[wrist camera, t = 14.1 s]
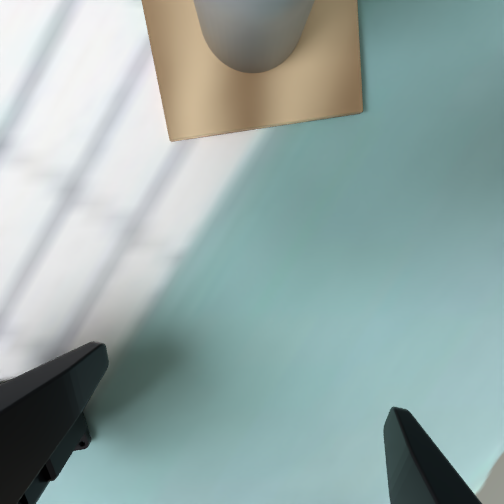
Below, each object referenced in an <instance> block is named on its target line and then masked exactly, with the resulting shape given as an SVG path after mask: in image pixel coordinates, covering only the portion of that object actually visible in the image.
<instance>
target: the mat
mask: <svg viewBox="0 0 504 504" xmlns="http://www.w3.org/2000/svg"><path fill="white" fill-rule="evenodd" d="M142 5H143V10H144V15H145V20H146V25H147V30H148V35H149V40H150V45H151V50H152V55H153V60H154V65H155V70H156V75H157V79H158V84H159V89H160V94H161V99H162V104H163V109H164V114H165V119H166V124H167V129H168V134H169V139H170V141H171V142H174V141H180V140H187V139H194V138H200V137H207V136H214V135H220V134H227V133H234V132H241V131H247V130H254V129H261V128H267V127H274V126H281V125H287V124H294V123H301V122H308V121H314V120H321V119H328V118H334V117H341V116H348V115H354V114H360V113H361V112H363V101H362V83H361V64H360V45H359V26H358V7H357V0H315V1H314V4H313V6H312V9H311V11H310V14H309V16H308V19H307V21H306V24H305V27H304V29H303V32H302V34H301V37H300V39H299V42H298V44H297V45H296V47H295V49H294V50H293V52H292V53H291V54H290V56H289V57H288V58H287V59H286V60H285V61H283V62H282V63H281V64H280V65H278V66H277V67H275V68H273V69H271V70H268V71H265V72H261V73H245V72H240V71H237V70H234V69H232V68H230V67H228V66H227V65H225V64H224V63H222V62H221V61H220V60H219V59H218V58H217V57H216V56H215V55H214V54H213V52H212V51H211V50H210V48H209V47H208V45H207V43H206V41H205V39H204V36H203V34H202V30H201V27H200V23H199V19H198V16H197V12H196V8H195V5H194V1H193V0H142Z"/></svg>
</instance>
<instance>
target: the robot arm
mask: <svg viewBox="0 0 504 504" xmlns="http://www.w3.org/2000/svg"><path fill="white" fill-rule="evenodd" d="M108 363H109V361H108V355H107V350H106V346H105V344H103V343H100V342H95V341H93V342H89V343H87V344H85V345H83V346H81V347H79V348H77V349H75V350H72V351H70V352H68V353H66V354H64V355H62V356H60V357H58V358H56V359H53V360H51V361H49V362H47V363H45V364H43V365H41V366H39V367H37V368H34V369H32V370H30V371H28V372H26V373H24V374H22V375H20V376H18V377H15V378H13V379H11V380H9V381H7V382H5V383H0V504H36V502H37V501H38V499H39V498H40V496H41V495H42V493H43V491H44V490H45V488H46V487H47V485H48V483H49V482H50V481H54V480H55V479H56V478H57V476H58V475H59V473H60V472H61V470H62V468H63V467H64V465H65V464H66V462H67V460H68V459H69V457H70V456H71V454H72V452H73V451H76V450H82V449H86V448H87V447H88V446H89V444H90V442H91V437H90V434H89V431H88V428H87V424H86V421H85V418H84V415H83V412H82V411H83V409H84V407H85V406H86V404H87V402H88V401H89V399H90V397H91V395H92V394H93V392H94V390H95V389H96V387H97V385H98V383H99V382H100V380H101V378H102V377H103V375H104V373H105V372H106V370H107V367H108ZM384 444H385V455H386V466H387V477H388V487H389V496H390V502H391V504H482V503H481V502H480V501H479V499H478V498H477V497H476V496H475V494H474V493H473V492H472V490H471V489H470V488H469V487H468V485H467V484H466V483H465V482H464V480H463V479H462V478H461V476H460V475H459V474H458V473H457V471H456V470H455V469H454V468H453V466H452V465H451V464H450V462H449V461H448V460H447V459H446V457H445V456H444V455H443V453H442V452H441V451H440V450H439V448H438V447H437V446H436V445H435V443H434V442H433V441H432V439H431V438H430V437H429V436H428V434H427V433H426V432H425V431H424V429H423V428H422V427H421V425H420V424H419V423H418V422H417V420H416V419H415V418H414V417H413V415H412V414H411V413H410V412H409V411H408V410H406V409H403V408H398V407H392V408H391V409H390V412H389V414H388V417H387V419H386V422H385V425H384Z"/></svg>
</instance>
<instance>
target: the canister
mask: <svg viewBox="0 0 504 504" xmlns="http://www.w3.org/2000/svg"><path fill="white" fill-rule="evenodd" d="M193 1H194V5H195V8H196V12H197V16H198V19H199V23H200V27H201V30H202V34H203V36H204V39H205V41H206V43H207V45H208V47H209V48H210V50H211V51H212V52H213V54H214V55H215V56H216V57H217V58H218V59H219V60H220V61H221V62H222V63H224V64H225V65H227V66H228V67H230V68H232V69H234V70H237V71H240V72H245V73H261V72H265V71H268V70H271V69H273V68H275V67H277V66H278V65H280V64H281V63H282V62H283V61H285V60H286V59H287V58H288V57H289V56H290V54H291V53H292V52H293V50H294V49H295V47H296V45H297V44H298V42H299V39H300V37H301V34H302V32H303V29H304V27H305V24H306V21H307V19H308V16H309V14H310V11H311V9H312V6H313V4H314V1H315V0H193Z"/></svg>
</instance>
